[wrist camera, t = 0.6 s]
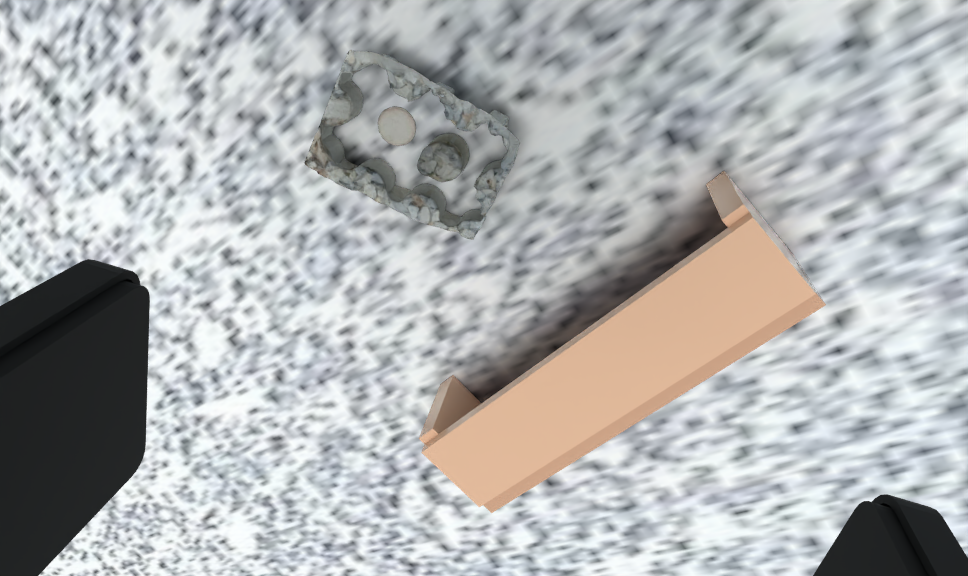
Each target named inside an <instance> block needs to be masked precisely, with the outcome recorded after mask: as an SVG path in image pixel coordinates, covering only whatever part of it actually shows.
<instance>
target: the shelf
mask: <svg viewBox="0 0 968 576" xmlns="http://www.w3.org/2000/svg"><path fill="white" fill-rule="evenodd" d="M706 186H707V188H708V191H709V193H710V195H711V197H712V200H713V202H714V204H715V206H716V208H717V211H718V213H719V215H720V217H721V220H722V221H723V222H724V223H725V225H726V226H727V227H728V228H727V229H725V230H724V231H723V232H721V233H720V234H718V235H717V236H716V237H714V238H713V239H711V240H710V241H709V242H707V243H706V244H704V245H703V246H702V247H700V248H699V249H697V250H696V251H695V252H693V253H692V254H690V255H689V256H688V257H686V258H685V259H683V260H682V261H681V262H679V263H678V264H676V265H675V266H674V267H672V268H671V269H669V270H668V271H667V272H665V273H664V274H662V275H661V276H659V277H658V278H657V279H655V280H654V281H652V282H651V283H650V284H648V285H647V286H645V287H644V288H643V289H641V290H640V291H638V292H637V293H636V294H634V295H633V296H631V297H630V298H629V299H627V300H626V301H624V302H623V303H622V304H620V305H619V306H617V307H616V308H615V309H613V310H612V311H610V312H609V313H608V314H606V315H605V316H603V317H602V318H601V319H599V320H598V321H596V322H595V323H594V324H592V325H591V326H589V327H588V328H587V329H585V330H584V331H582V332H581V333H580V334H578V335H577V336H575V337H574V338H573V339H571V340H570V341H568V342H567V343H566V344H564V345H563V346H561V347H560V348H559V349H557V350H556V351H554V352H553V353H552V354H550V355H549V356H547V357H546V358H545V359H543V360H542V361H540V362H539V363H538V364H536V365H535V366H533V367H532V368H531V369H529V370H528V371H526V372H525V373H524V374H522V375H521V376H519V377H518V378H517V379H515V380H514V381H512V382H511V383H510V384H508V385H507V386H505V387H504V388H503V389H501V390H500V391H498V392H497V393H496V394H494V395H493V396H491V397H490V398H489V399H487V400H486V401H484V402H483V403H481V402H480V401H479V400H478V399H477V398H476V397H475V396H474V395H473V394H472V393H471V392H470V391H469V390H468V389H467V388H466V387H465V386H464V385H463V384H462V383H461V382H460V381H459V380H458V379H457V378H455V377H454V376H453V375H452V376H451V377H450V378H448V379H447V380H446V381H444V382H443V383H442V384H440V387H439V389H438V392H437V394H436V397H435V399H434V402H433V404H432V407H431V409H430V412H429V414H428V417H427V419H426V422H425V424H424V427H423V429H422V432H421V434H420V437H419V439H420V440H421V441H422V442H423V443H424V444H425V445H424V447H423V450H422V452H421V453H423V454H424V455H425V456H426V457H427V458H428V459H429V460H430V461H431V462H432V463H433V464H434V465H435V466H436V467H437V468H438V469H440V470H441V471H442V472H443V473H444V474H445V475H446V476H447V477H448V478H449V479H450V480H451V481H452V482H453V483H454V484H455V485H457V486H458V487H459V488H460V489H461V490H462V491H463V492H464V493H465V494H466V495H467V496H468V497H469V498H470V499H471V500H472V501H473V502H475V503H476V504H477V505H478V506H479V507H480V506H482V505H484V506H485V507H486V508H487V509H488V510H489V511H490V512H491V513H493V512H494V511H496V510H497V509H499V508H501V507H502V506H504V505H505V504H507V503H509V502H510V501H512V500H513V499H515V498H517V497H518V496H520V495H521V494H523V493H525V492H526V491H528V490H529V489H531V488H533V487H534V486H536V485H537V484H539V483H541V482H542V481H544V480H546V479H547V478H549V477H550V476H552V475H554V474H555V473H557V472H558V471H560V470H562V469H563V468H565V467H566V466H568V465H570V464H571V463H573V462H574V461H576V460H578V459H579V458H581V457H582V456H584V455H586V454H587V453H589V452H591V451H592V450H594V449H595V448H597V447H599V446H600V445H602V444H603V443H605V442H607V441H608V440H610V439H611V438H613V437H615V436H616V435H618V434H619V433H621V432H623V431H624V430H626V429H627V428H629V427H631V426H632V425H634V424H635V423H637V422H639V421H640V420H642V419H644V418H645V417H647V416H648V415H650V414H652V413H653V412H655V411H656V410H658V409H660V408H661V407H663V406H664V405H666V404H668V403H669V402H671V401H672V400H674V399H676V398H677V397H679V396H680V395H682V394H684V393H685V392H687V391H688V390H690V389H692V388H693V387H695V386H697V385H698V384H700V383H701V382H703V381H705V380H706V379H708V378H709V377H711V376H713V375H714V374H716V373H717V372H719V371H721V370H722V369H724V368H725V367H727V366H729V365H730V364H732V363H733V362H735V361H737V360H738V359H740V358H742V357H743V356H745V355H746V354H748V353H750V352H751V351H753V350H754V349H756V348H758V347H759V346H761V345H762V344H764V343H766V342H767V341H769V340H770V339H772V338H774V337H775V336H777V335H778V334H780V333H782V332H783V331H785V330H786V329H788V328H790V327H791V326H793V325H795V324H796V323H798V322H799V321H801V320H803V319H804V318H806V317H807V316H809V315H811V314H812V313H814V312H815V311H817V310H819V309H820V308H822V307H823V306H825V305H826V304H825V303H824V301H823V300H822V298H821V297H820V295H819V293H818V292H817V290H816V289H815V287H814V286H813V284H812V283H811V281H810V279H809V278H808V276H807V275H806V273H805V272H804V270H803V269H802V267H801V265H800V264H799V262H798V261H797V259H796V258H795V256H794V255H793V254H792V252H791V251H790V250H789V249H788V248H787V246H786V245H785V244H784V243H783V241H782V240H781V239H780V238H779V237H778V235H777V234H776V233H775V232H774V231H773V229H772V228H771V227H770V226H769V224H768V223H767V222H766V221H765V220H764V218H763V217H762V216H761V215H760V214H759V212H758V211H757V210H756V209H755V207H754V206H753V205H752V204H751V203H750V201H749V200H748V199H747V198H746V196H745V195H744V194H743V193H742V192H741V190H740V189H739V188H738V187H737V186H736V184H735V183H734V182H733V181H732V179H731V178H730V177H729V176H728V175H727V173H726V172H725V171H723V172H722V173H721V174H719V175H718V176H717V177H715V178H714V179H713V180H711V181H710V182H709V183H707V184H706Z"/></svg>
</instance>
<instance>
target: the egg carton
mask: <svg viewBox="0 0 968 576" xmlns="http://www.w3.org/2000/svg"><path fill="white" fill-rule="evenodd" d="M373 64H378V65H379V66H381V67H382V68H383V69H386V70H387V74H388V81H389V83H390V88H392V89H393V90H394V92H395V93H396V94H398V95H399V96H402V97H404V98H406V99H408V102H410V101H413V100H416V99H419V98H420V97H421V96H422V95H423V94H425V93H426V92H428V91H429V90H432V93H433V94H434V95H436V96H439V95H440V94H444V96H445V97H441V96H439V98H440V102H442V103H443V104H444V106H445V112H444V113H445V116H446V118H447V119H449V120H451V121H452V123H453V124H454V125H455V126H456V127H457V129H460V130H463V131H474V130H475V129H476V128H478V127H479V126H480V125H481V124H484V123H487V124H488V128H489V130H490V133H491V134H492V135H494V136H496V135H501V136H502V137H503V142H504V145H505V146H506V148H507V153H506V155H505V156H504V157H503V159H502V160H497V161H494V162H492V163H489V164H488V165H487V166H486V167H485V168H484V170H483V172H482V173H481V175H480V176H479V178H477V180H476V182H475V184H474V187H475V188H476V189H477V194H476V198H477V200H478V201H479V202H480V203H481V204H482V208H481V210H480V209H473V210H469V211H467V212H466V213H465V214H464V215H463V216H462V217H459V216H455V215H453V214H451V213H449V212H448V211H446V199H445V196H444V194H443V192H442V191H441V190H440V189H439V188H438V187H436V186H434V185H431V184H421V185H419V186H417V187H415V188H414V189H413V190H412V191H411V190H408V189H405V188H402V187H398V186H396V185H395V182H396V178H395V173H394V171H393V169H392V167H391V166H390V165H389V164H388V163H387V162H386V161H384V160H381V159H376V158H373V159H368V160H366V161H365V162H363V163H362V164H361V165H359V166H357V165H355V164H352V163H350V162H349V161H348V160H346V158H345V157H344V154H345V151H344V148H343V145H342V143H341V142H340V140H339V139H338V138H337V137H336V136H335V135H334V134H333V133H332V132H333V129H334V127H335V126H338V125H342V124H344V123H346V122H348V121H350V120H352V119H353V118H355V117H356V116H358V115H359V113H360V112H361V110H362V107H363V96H362V93H361V91H360V89H359V88H358V87H357V85H356V84H355V83H353V82H352V76H353V74H354V73H355V72H357V71H360V70H361V69H363V68H365V67H367V66H370V65H373ZM454 91H455V90H454V89H453V88H451V87H449V86H447V85H445V84H443V83H441V82H437V83H434V82H432V81H431V80H429V79H427V78H426V77H424V76H423V75H421V74H420V73H418V72H417V71H415V70H414V69H412V68H410V67H408V66H405V65H403V64H401V63H399V61H398V60H396V59H395V58H393V57H391V56H389V55H386V54H381V55H380V54H378V53H373V52H366V51H352V50H350V51H349V52H348V54H347V56H346V59H345V61H344V63H343V66H342V68H341V72H340V74H339V77H338V79H337V82H336V84H335V87H334V89H333V91H332V94H331V97H330V100H329V103H328V105H327V107H326V110H325V113H324V115H323V118H322V121H321V124H320V126H319V128H318V130H317V132H316V134H315V137H314V140H313V142H312V145H311V147H310V150H309V152H308V155H307V157H306V161H305V165H307V166H308V167H309V168H311V169H313V170H315V171H317V172H318V174H320V175H322V176H324V177H326V178H329V179H331V180H332V181H334V182H335V183H337V184H339V185H341V186H343V187H346V188H348V189H350V190H358V191H360V192H362V193H364V194H366V195H367V196H369V197H370V198H372V199H373V200H375V201H376V202H378V203H380V204H385V205H387V206H389V207H391V208H393V209H395V210H396V211H399V212H401V213H403V214H404V215H406V216H407V217H409V218H411V219H412V220H415V221H418V222H422V223H425V224H428V225H431V226H435V227H440V228H442V229H445V230H448V231H454V232H458V233H460V234H461V236H463V237H465V238H468V239H474V237H475V235H476V234H477V232H478V231H479V229H480V228H481V226H482V224H483V222H484V220H485V218H486V216H485V215H486V213H487V211H488V210H489V208H490V207H491V206H492V204H493V202H494V200H495V198H496V195H497V193H498V192H499V190H500V188H501V186H502V184H503V182H504V179H505V177H506V176H507V174H509V172H510V170H511V168H512V166H513V164H514V161H515V158H516V155H517V152H518V148H519V144H520V142H519V140H518V139H517V138H516V137H515V136H514V135H513V134H512V133H511V132H510V131H509V130H508V129H507V125H508V119H509V118H508V117H507V116H506V115H504V114H502V113H500V112H498V111H496V110H493V111H492V112H491V113H490V114H488V113H487V112H485V111H483V110H482V109H478V108H476V107H475V106H474V104H472V103H470V102H468V101H464V100H460V99H458V98H457V97H456V96H455V95H454ZM378 125H379V126H378V128H379V133H380V134H381V136H382V138H383V139H384V140H385V141H387V142H388V143H389V144H392V145H396V146H402V145H405V144H408V143H409V142H410V141H412V139H413V138H414V136H415V132H416V125H415V121H414V119H413V117H412V116H411V114H410V113H409V112H408V111H406V110H405V109H403V108H401V107H391V108H388V109H386V110H384V111H383V112H382V113H381V115H380V117H379V120H378ZM468 159H469V149H468V146H467V144H466V142H465V141H464V140H463V139H462V138H461V137H460V136H458V135H456V134H452V133H447V134H443V135H439V136H437V137H436V138H435V139H434V140H433V141H432V142H431V143H430V144H429V145H428V146H427V147H426V148H424V150H423V151H422V153H421V156H420V158H419V160H418V164H417V168H418V170H419V172H420V173H421V174H423V175H425V176H429V177H431V178H433V179H435V180H437V181H440V182H446V181H450V180H453V179H455V178H456V177H457V176H458V175H459V174H460V173H461V171H462V170H463V169H465V168H464V167H466V165H467V162H468ZM463 171H464V170H463ZM462 173H463V172H462Z"/></svg>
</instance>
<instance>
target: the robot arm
mask: <svg viewBox="0 0 968 576" xmlns="http://www.w3.org/2000/svg"><path fill="white" fill-rule="evenodd" d="M149 304H150V298H149V292H148V290H147V288H145V287H144V286H141V285H140V280H139V278H138V276H137V274H135V273H134V272H133V271H129V270H126V269H123V268H119V267H116V266H113V265H109V264H106V263H102V262H99V261H96V260H89V259H88V260H85V261H82V262H80V263H78V264H76V265H74V266H72V267H71V268H69V269H67V270H65V271H63V272H62V273H60V274H58V275H56V276H54V277H52V278H51V279H49V280H47V281H45V282H43V283H41V284H40V285H38V286H36V287H34V288H32V289H31V290H29V291H27V292H25V293H23V294H21V295H20V296H18V297H16V298H14V299H12V300H10V301H9V302H7V303H5V304H3V305H1V306H0V576H38V575H39V574H40V573H41V572H42V571H43V570H44V569H45V568H46V567H47V566H48V565H49V564H50V562H51V561H52V560H53V559H54V558H55V557H56V556H57V555H58V554H59V553H60V552H61V551H62V550H63V549H64V548H65V547H66V546H67V545H68V543H69V542H70V541H71V540H72V539H73V538H74V537H75V536H76V535H77V534H78V533H79V532H80V531H81V530H82V529H83V528H84V527H85V525H86V524H87V523H88V522H89V521H90V520H91V519H92V518H93V517H94V516H95V515H96V514H97V513H98V512H99V511H100V510H101V509H102V507H103V506H104V505H105V504H106V503H107V502H108V501H109V500H110V499H111V498H112V497H113V496H114V495H115V494H116V493H117V492H118V491H119V489H120V488H121V487H122V486H123V485H124V484H125V483H126V482H127V481H128V480H129V479H130V478H131V477H132V476H133V474H134V473H135V472H136V470H137V469H138V467H139V465H140V463H141V461H142V459H143V456H144V452H145V445H146V410H147V374H148V339H149ZM813 576H968V558H967V556H966V554H965V553H964V551H963V550H962V548H961V546H960V545H959V543H958V541H957V540H956V538H955V537H954V535H953V533H952V532H951V530H950V528H949V527H948V525H947V524H946V522H945V520H944V519H943V517H942V516H941V515H940V514H939V512H938V511H937V510H935V509H933V508H931V507H928V506H924V505H921V504H918V503H914V502H911V501H907V500H904V499H901V498H897V497H894V496H891V495H880V496H878V497H877V498H875V499H874V500H873V501H872V502H869V501H864V502H862V503H860V504H859V505H858V506H857V507H856V509H855V510H854V512H853V513H852V515H851V516H850V518H849V520H848V521H847V523H846V524H845V526H844V527H843V529H842V531H841V532H840V534H839V535H838V537H837V539H836V540H835V542H834V543H833V545H832V546H831V548H830V550H829V551H828V553H827V554H826V556H825V558H824V559H823V561H822V562H821V564H820V565H819V567H818V569H817V570H816V572H815V573H814V575H813Z"/></svg>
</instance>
